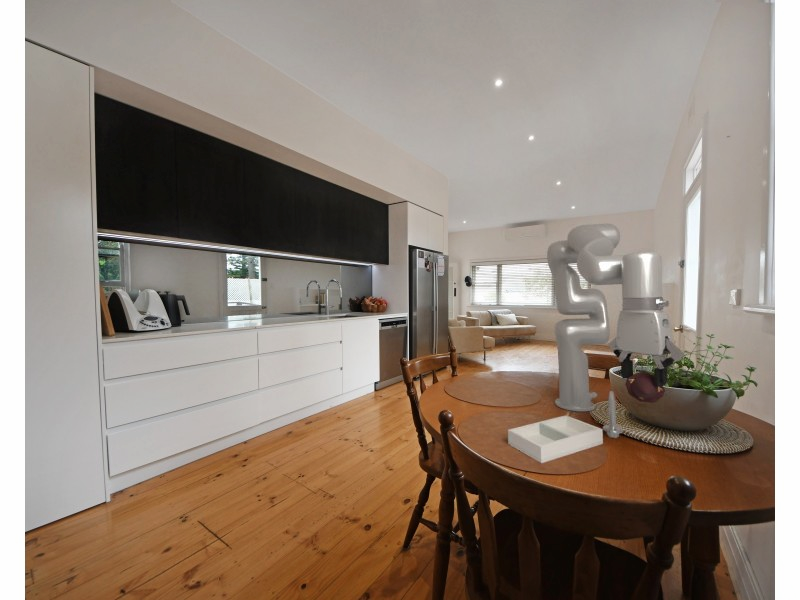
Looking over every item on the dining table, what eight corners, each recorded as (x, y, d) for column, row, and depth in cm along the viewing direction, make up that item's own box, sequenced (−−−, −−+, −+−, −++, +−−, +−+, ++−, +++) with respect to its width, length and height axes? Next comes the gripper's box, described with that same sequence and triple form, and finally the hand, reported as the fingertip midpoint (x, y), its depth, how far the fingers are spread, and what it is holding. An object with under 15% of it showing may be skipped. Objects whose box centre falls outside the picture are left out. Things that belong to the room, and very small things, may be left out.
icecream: (672, 384, 68) (665, 374, 80) (630, 371, 72) (629, 364, 84) (662, 415, 68) (657, 400, 80) (621, 401, 72) (622, 389, 85)
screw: (615, 432, 95) (627, 439, 90) (599, 432, 95) (610, 440, 90) (614, 388, 95) (625, 393, 90) (597, 388, 95) (608, 393, 90)
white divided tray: (566, 428, 99) (565, 415, 99) (602, 443, 88) (602, 429, 88) (508, 444, 90) (507, 429, 90) (541, 463, 79) (540, 447, 79)
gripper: (696, 305, 69) (697, 388, 70) (615, 303, 85) (616, 371, 85) (675, 307, 66) (677, 394, 67) (595, 305, 82) (597, 375, 83)
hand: (643, 380), depth 76 cm, fingers closed on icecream, 6 cm apart
